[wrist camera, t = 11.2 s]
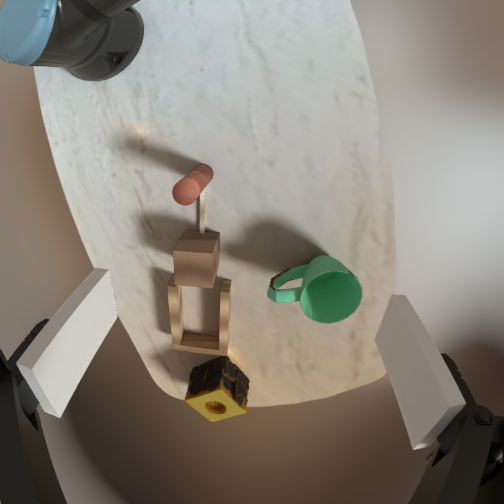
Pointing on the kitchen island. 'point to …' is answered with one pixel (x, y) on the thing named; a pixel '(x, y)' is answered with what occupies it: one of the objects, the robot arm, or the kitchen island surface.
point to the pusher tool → (196, 235)
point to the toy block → (218, 389)
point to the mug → (320, 289)
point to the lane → (197, 341)
